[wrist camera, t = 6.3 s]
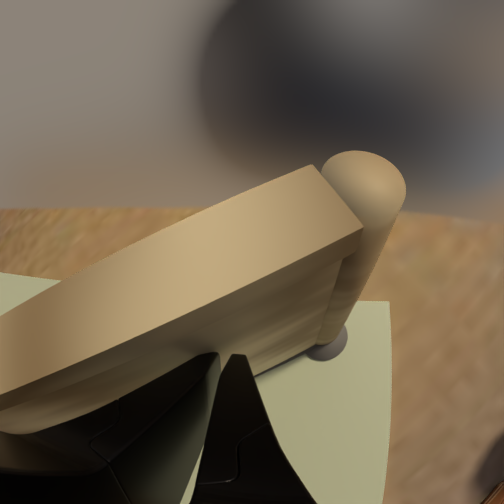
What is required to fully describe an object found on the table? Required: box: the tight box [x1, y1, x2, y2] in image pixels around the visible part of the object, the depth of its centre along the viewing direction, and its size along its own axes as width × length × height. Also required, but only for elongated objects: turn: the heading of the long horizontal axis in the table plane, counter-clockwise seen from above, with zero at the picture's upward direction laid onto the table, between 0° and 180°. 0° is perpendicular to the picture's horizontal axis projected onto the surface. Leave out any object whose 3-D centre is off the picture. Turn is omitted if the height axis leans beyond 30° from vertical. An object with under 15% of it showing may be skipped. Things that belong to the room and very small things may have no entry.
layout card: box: [0, 273, 392, 504], centre depth 14 cm, size 30×12×1 cm, turn 84°
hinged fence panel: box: [0, 151, 406, 434], centre depth 9 cm, size 16×2×10 cm, turn 116°
